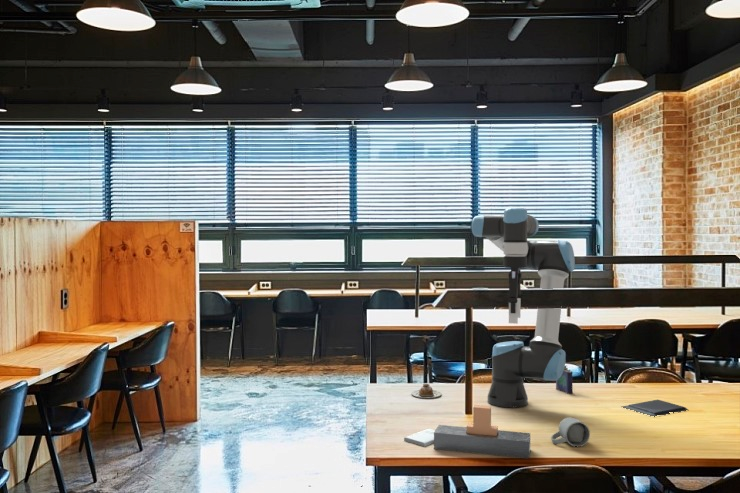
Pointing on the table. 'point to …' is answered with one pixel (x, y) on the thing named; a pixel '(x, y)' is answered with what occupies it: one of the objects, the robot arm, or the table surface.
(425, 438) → the external hard drive
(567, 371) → the flask
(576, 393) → the table surface
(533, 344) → the robot arm
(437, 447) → the rail
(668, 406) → the dark gray flat slab
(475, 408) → the tan wooden block
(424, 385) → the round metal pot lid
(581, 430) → the ceramic mug
